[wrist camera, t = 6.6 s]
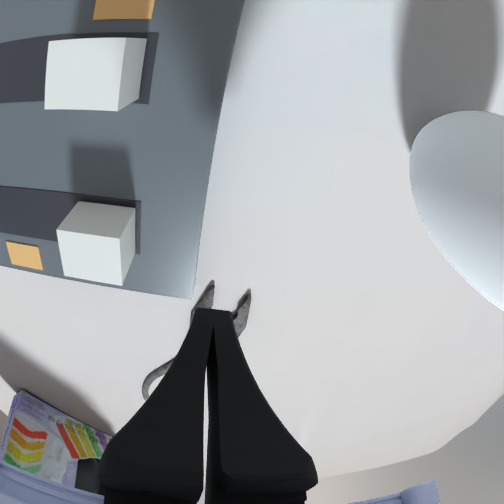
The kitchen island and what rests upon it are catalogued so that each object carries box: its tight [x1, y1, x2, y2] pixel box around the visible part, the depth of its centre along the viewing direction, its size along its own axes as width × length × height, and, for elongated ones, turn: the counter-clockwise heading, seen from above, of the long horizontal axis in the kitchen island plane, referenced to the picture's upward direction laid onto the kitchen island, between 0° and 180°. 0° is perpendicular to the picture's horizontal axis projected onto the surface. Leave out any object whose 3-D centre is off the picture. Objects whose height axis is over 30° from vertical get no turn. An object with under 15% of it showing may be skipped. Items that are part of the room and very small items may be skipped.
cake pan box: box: [0, 390, 112, 496], centre depth 31 cm, size 19×5×18 cm, turn 37°
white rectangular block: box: [45, 38, 147, 111], centre depth 11 cm, size 4×3×3 cm
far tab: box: [56, 201, 135, 286], centre depth 16 cm, size 4×3×3 cm
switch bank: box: [0, 0, 244, 299], centre depth 15 cm, size 16×19×2 cm
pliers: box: [142, 285, 251, 401], centre depth 28 cm, size 10×1×20 cm
